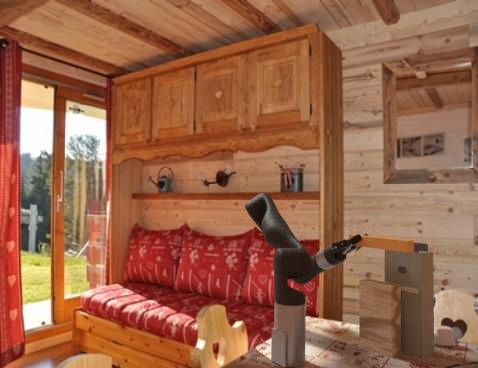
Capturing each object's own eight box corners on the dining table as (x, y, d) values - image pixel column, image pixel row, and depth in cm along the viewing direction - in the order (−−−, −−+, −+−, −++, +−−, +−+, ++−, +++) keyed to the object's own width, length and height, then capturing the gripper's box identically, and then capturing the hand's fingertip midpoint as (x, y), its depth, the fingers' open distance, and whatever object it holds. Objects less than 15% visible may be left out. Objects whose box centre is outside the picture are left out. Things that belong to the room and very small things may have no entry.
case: (421, 358, 119) (420, 245, 121) (384, 345, 130) (384, 241, 132) (434, 353, 124) (433, 244, 126) (397, 341, 134) (396, 240, 136)
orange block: (407, 252, 118) (407, 240, 118) (348, 244, 136) (349, 234, 136) (413, 251, 120) (413, 240, 120) (355, 244, 138) (355, 234, 138)
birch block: (391, 357, 120) (391, 286, 121) (359, 345, 130) (359, 280, 131) (401, 353, 123) (400, 284, 124) (368, 342, 132) (368, 278, 134)
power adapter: (420, 345, 130) (420, 328, 131) (415, 340, 135) (415, 323, 136) (455, 347, 129) (455, 329, 129) (449, 342, 134) (449, 325, 134)
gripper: (313, 247, 142) (346, 227, 131) (339, 246, 151) (372, 226, 139) (321, 267, 139) (355, 247, 127) (347, 264, 147) (381, 245, 135)
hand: (364, 236), depth 133 cm, fingers closed on orange block, 3 cm apart
